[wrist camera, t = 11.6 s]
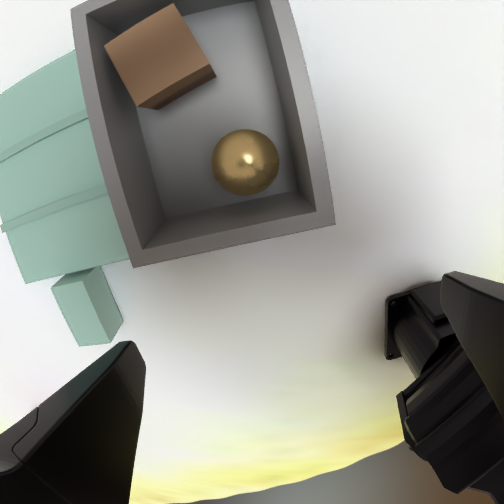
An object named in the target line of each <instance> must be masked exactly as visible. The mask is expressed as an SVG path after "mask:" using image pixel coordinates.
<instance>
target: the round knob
mask: <svg viewBox="0 0 504 504" xmlns="http://www.w3.org/2000/svg"><path fill="white" fill-rule="evenodd" d="M279 165H280V160H279V154H278V151H277V148H276V146H275V145H274V143H273V142H272V141H271V140H270V139H269V138H268V137H267V136H266V135H264V134H263V133H261V132H258V131H256V130H252V129H240V130H236V131H233V132H230V133H228V134H227V135H225V136H224V137H223V138H222V139H221V140H220V141H219V142H218V143H217V145H216V146H215V148H214V151H213V153H212V158H211V167H212V171H213V174H214V177H215V179H216V180H217V182H218V183H219V184H220V185H221V186H222V187H223V188H224V189H226V190H227V191H229V192H231V193H233V194H236V195H242V196H249V195H254V194H257V193H260V192H262V191H264V190H265V189H266V188H268V187H269V186H270V185H271V184H272V183H273V181H274V180H275V178H276V176H277V174H278V170H279Z"/></svg>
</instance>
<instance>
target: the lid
mask: <svg viewBox="0 0 504 504" xmlns="http://www.w3.org/2000/svg"><path fill="white" fill-rule="evenodd" d="M0 215H1V219H2V222H3V224H2V225H0V226H1V230H2V233H3V232H5V231H6V234H7V237H8V240H9V243H10V246H11V248H12V251H13V254H14V256H15V259H16V262H17V264H18V267H19V269H20V272H21V274H22V277H23V279H24V281H25V284H28V283H32V282H36V281H40V280H44V279H48V278H52V277H56V276H60V275H64V274H65V275H64V276H63V277H62V278H61V279H60V280H59V281H58V282H57V283H55V284H54V285H53V286H52V287H51V290H52V292H53V294H54V297H55V299H56V301H57V303H58V305H59V308H60V310H61V312H62V314H63V316H64V318H65V320H66V322H67V324H68V326H69V328H70V330H71V332H72V334H73V336H74V338H75V340H76V342H77V343H78V345H79V346H89V345H98V344H107V343H111V342H112V340H113V338H114V336H115V335H116V333H117V331H118V329H119V328H120V326H121V324H122V323H123V319H122V317H121V315H120V312H119V310H118V308H117V305H116V303H115V301H114V298H113V296H112V294H111V291H110V289H109V286H108V284H107V281H106V279H105V276H104V274H103V271H102V268H101V265H105V264H109V263H114V262H118V261H122V260H126V259H130V258H129V255H128V252H127V249H126V247H125V244H124V241H123V238H122V235H121V232H120V229H119V226H118V223H117V220H116V217H115V214H114V211H113V208H112V205H111V201H110V198H109V195H108V192H107V188H106V185H105V181H104V178H103V174H102V171H101V167H100V164H99V160H98V156H97V152H96V148H95V145H94V141H93V136H92V132H91V128H90V124H89V119H88V115H87V110H86V106H85V101H84V96H83V91H82V86H81V80H80V75H79V69H78V63H77V57H76V50H74V51H72V52H70V53H68V54H66V55H64V56H62V57H60V58H58V59H57V60H55V61H53V62H51V63H49V64H48V65H46V66H44V67H42V68H41V69H39V70H37V71H36V72H34V73H32V74H31V75H29V76H27V77H26V78H24V79H23V80H21V81H19V82H18V83H16V84H15V85H13V86H12V87H10V88H9V89H7V90H6V91H5V92H3V93H2V94H0Z"/></svg>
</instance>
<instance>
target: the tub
mask: <svg viewBox="0 0 504 504" xmlns="http://www.w3.org/2000/svg"><path fill="white" fill-rule="evenodd" d="M173 3H174V5H175V7H176V8H177V10H178V11H179V13H180V15H181V16H182V18H183V19H184V21H185V23H186V24H187V26H188V28H189V29H190V31H191V33H192V34H193V36H194V38H195V39H196V41H197V43H198V44H199V46H200V48H201V49H202V51H203V53H204V54H205V56H206V58H207V59H208V61H209V63H210V65H211V67H212V68H213V70H214V72H215V74H216V76H217V77H216V78H214V79H212V80H210V81H208V82H206V83H204V84H202V85H200V86H199V87H197V88H195V89H193V90H191V91H189V92H188V93H186V94H184V95H182V96H181V97H179V98H177V99H176V100H174V101H172V102H170V103H169V104H167V105H165V106H164V107H162V108H160V109H159V110H154V109H149V108H143V107H137V106H136V105H135V103H134V101H133V99H132V97H131V95H130V94H129V92H128V90H127V88H126V86H125V84H124V83H123V81H122V79H121V77H120V75H119V73H118V71H117V70H116V68H115V66H114V64H113V62H112V60H111V58H110V56H109V55H108V53H107V51H106V49H105V47H104V45H106V44H107V43H109V42H110V41H112V40H113V39H115V38H116V37H117V36H119V35H120V34H122V33H123V32H125V31H127V30H128V29H130V28H131V27H133V26H134V25H136V24H138V23H139V22H141V21H143V20H144V19H146V18H148V17H149V16H151V15H153V14H154V13H156V12H158V11H160V10H162V9H163V8H165V7H167V6H169V5H171V4H173ZM70 10H71V19H72V28H73V36H74V43H75V50H76V57H77V63H78V69H79V75H80V80H81V86H82V91H83V96H84V101H85V106H86V110H87V115H88V119H89V124H90V128H91V132H92V136H93V141H94V145H95V148H96V152H97V156H98V160H99V164H100V167H101V171H102V174H103V178H104V181H105V185H106V188H107V192H108V195H109V198H110V201H111V205H112V208H113V211H114V214H115V217H116V220H117V223H118V226H119V229H120V232H121V235H122V238H123V241H124V244H125V247H126V249H127V252H128V255H129V258H130V260H131V263H132V266H133V268H136V267H140V266H145V265H150V264H154V263H159V262H163V261H168V260H172V259H177V258H181V257H186V256H190V255H195V254H200V253H204V252H209V251H213V250H218V249H223V248H227V247H232V246H237V245H241V244H246V243H251V242H255V241H260V240H265V239H269V238H274V237H279V236H284V235H288V234H293V233H298V232H303V231H307V230H312V229H317V228H322V227H326V226H331V225H336V223H335V216H334V209H333V202H332V195H331V189H330V182H329V176H328V170H327V164H326V159H325V153H324V148H323V142H322V137H321V132H320V127H319V122H318V117H317V112H316V107H315V102H314V98H313V93H312V89H311V84H310V80H309V76H308V72H307V67H306V63H305V59H304V55H303V51H302V47H301V44H300V40H299V36H298V32H297V29H296V25H295V22H294V18H293V15H292V11H291V8H290V4H289V1H288V0H88V1H86V2H84V3H82V4H80V5H78V6H76V7H74V8H72V9H70ZM240 129H252V130H256V131H258V132H261V133H263V134H264V135H266V136H267V137H268V138H269V139H270V140H271V141H272V142H273V143H274V145H275V146H276V148H277V151H278V154H279V160H280V165H279V170H278V174H277V176H276V178H275V180H274V181H273V183H272V184H271V185H270V186H269V187H268V188H266V189H265V190H264V191H262V192H260V193H257V194H254V195H249V196H242V195H236V194H233V193H231V192H229V191H227V190H226V189H224V188H223V187H222V186H221V185H220V184H219V183H218V182H217V180H216V179H215V177H214V174H213V171H212V167H211V158H212V153H213V151H214V148H215V146H216V145H217V143H218V142H219V141H220V140H221V139H222V138H223V137H224V136H225V135H227V134H228V133H230V132H233V131H236V130H240Z"/></svg>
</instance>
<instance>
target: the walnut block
mask: <svg viewBox="0 0 504 504" xmlns="http://www.w3.org/2000/svg"><path fill="white" fill-rule="evenodd" d="M104 47H105V49H106V51H107V53H108V55H109V56H110V58H111V60H112V62H113V64H114V66H115V68H116V70H117V71H118V73H119V75H120V77H121V79H122V81H123V83H124V84H125V86H126V88H127V90H128V92H129V94H130V95H131V97H132V99H133V101H134V103H135V105H136V106H137V107H143V108H149V109H154V110H159V109H160V108H162V107H164V106H165V105H167V104H169V103H170V102H172V101H174V100H176V99H177V98H179V97H181V96H182V95H184V94H186V93H188V92H189V91H191V90H193V89H195V88H197V87H199V86H200V85H202V84H204V83H206V82H208V81H210V80H212V79H214V78H216V77H217V76H216V74H215V72H214V70H213V68H212V67H211V65H210V63H209V61H208V59H207V58H206V56H205V54H204V53H203V51H202V49H201V48H200V46H199V44H198V43H197V41H196V39H195V38H194V36H193V34H192V33H191V31H190V29H189V28H188V26H187V24H186V23H185V21H184V19H183V18H182V16H181V15H180V13H179V11H178V10H177V8H176V7H175V5H174V3H173V4H171V5H169V6H167V7H165V8H163V9H162V10H160V11H158V12H156V13H154V14H153V15H151V16H149V17H148V18H146V19H144V20H143V21H141V22H139V23H138V24H136V25H134V26H133V27H131V28H130V29H128V30H127V31H125V32H123V33H122V34H120V35H119V36H117V37H116V38H115V39H113V40H112V41H110V42H109V43H107V44H106V45H104Z"/></svg>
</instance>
